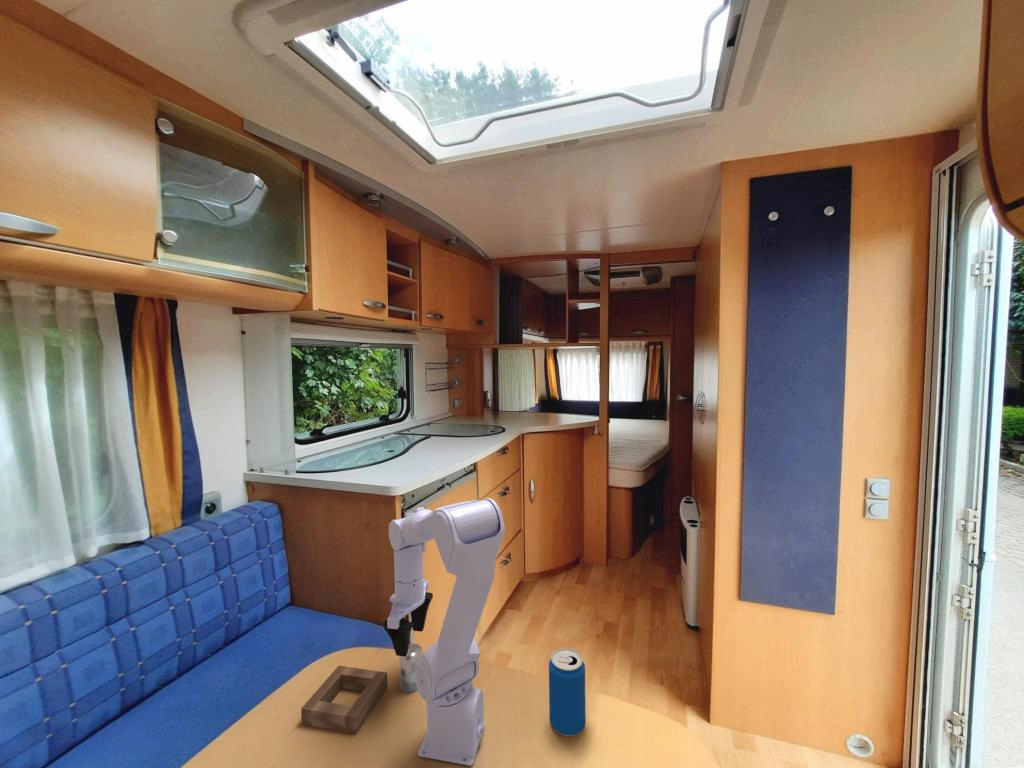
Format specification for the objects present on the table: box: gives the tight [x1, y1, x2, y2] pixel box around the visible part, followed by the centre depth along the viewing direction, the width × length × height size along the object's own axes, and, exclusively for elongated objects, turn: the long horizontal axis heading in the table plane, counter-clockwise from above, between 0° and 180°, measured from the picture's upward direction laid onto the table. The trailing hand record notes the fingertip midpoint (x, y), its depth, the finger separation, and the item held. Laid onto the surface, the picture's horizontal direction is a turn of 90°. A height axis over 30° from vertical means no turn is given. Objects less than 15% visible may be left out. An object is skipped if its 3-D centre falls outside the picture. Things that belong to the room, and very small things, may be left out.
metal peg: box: [399, 643, 423, 694], centre depth 82 cm, size 4×4×7 cm
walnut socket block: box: [300, 665, 388, 735], centre depth 77 cm, size 11×11×3 cm
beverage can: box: [548, 647, 587, 737], centre depth 72 cm, size 6×6×12 cm
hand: (410, 642), depth 82 cm, fingers open, 7 cm apart
